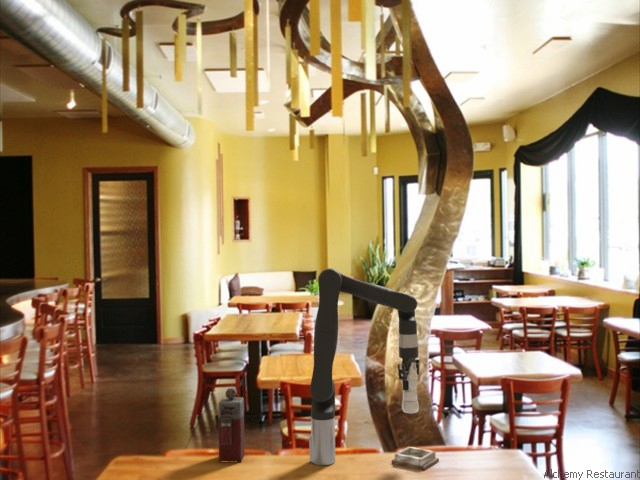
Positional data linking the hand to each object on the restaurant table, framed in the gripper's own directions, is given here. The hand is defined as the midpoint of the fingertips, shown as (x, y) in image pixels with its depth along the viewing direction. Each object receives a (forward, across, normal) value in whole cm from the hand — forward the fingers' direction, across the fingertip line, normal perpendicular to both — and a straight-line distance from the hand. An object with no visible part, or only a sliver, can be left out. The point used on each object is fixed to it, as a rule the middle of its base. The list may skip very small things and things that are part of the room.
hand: (409, 388), depth 247 cm
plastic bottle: (+10, 0, 0) cm, 10 cm away
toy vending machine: (+27, +37, -61) cm, 76 cm away
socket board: (+28, +1, +2) cm, 28 cm away
